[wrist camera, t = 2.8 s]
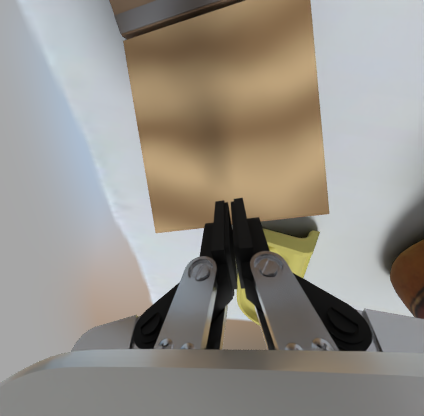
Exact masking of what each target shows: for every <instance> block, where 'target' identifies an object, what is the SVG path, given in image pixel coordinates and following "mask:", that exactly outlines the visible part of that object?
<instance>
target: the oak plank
mask: <svg viewBox="0 0 424 416" xmlns="http://www.w3.org/2000/svg"><path fill="white" fill-rule="evenodd" d="M123 43H124V49H125V55H126V61H127V67H128V73H129V78H130V84H131V90H132V96H133V102H134V108H135V114H136V120H137V126H138V131H139V137H140V143H141V149H142V155H143V161H144V167H145V173H146V178H147V184H148V190H149V196H150V202H151V208H152V214H153V220H154V226H155V231H156V233H162V232H171V231H180V230H189V229H198V228H204V226H205V224H206V223H213V222H214V211H215V201H222V200H224V201H225V202H228V205H229V211H230V217H231V224H232V215H231V202H232V201H234V199H237V198H243V201H244V206H245V211H246V216H247V218H255V217H259V219H260V222H261V221H270V220H279V219H288V218H297V217H305V216H314V215H323V214H329V204H328V193H327V182H326V171H325V159H324V148H323V137H322V126H321V115H320V104H319V92H318V81H317V70H316V59H315V48H314V37H313V25H312V14H311V3H310V0H245V1H242V2H239V3H236V4H233V5H230V6H227V7H224V8H221V9H218V10H215V11H212V12H209V13H206V14H203V15H200V16H197V17H194V18H191V19H188V20H185V21H182V22H179V23H176V24H173V25H170V26H167V27H164V28H161V29H158V30H155V31H152V32H149V33H146V34H143V35H140V36H137V37H134V38H131V39H128V40H125V41H123Z"/></svg>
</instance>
